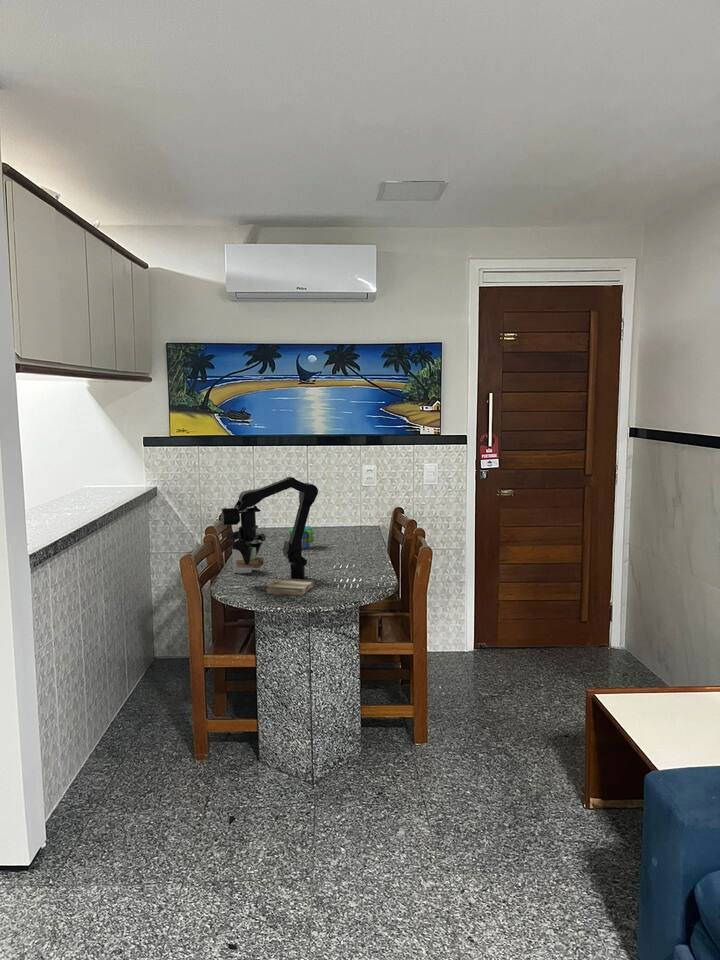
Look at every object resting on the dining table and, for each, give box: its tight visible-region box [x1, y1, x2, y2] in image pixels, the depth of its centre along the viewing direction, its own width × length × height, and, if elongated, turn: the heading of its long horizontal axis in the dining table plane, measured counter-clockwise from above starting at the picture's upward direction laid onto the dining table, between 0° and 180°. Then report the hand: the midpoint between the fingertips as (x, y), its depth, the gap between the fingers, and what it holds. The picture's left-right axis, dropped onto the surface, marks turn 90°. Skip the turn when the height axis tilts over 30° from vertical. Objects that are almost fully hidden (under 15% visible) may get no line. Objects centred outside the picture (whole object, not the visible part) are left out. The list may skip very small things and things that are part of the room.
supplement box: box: [231, 540, 253, 574], centre depth 303 cm, size 7×7×13 cm
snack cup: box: [288, 525, 315, 550], centre depth 348 cm, size 16×10×10 cm
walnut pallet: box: [236, 556, 265, 569], centre depth 280 cm, size 6×9×3 cm, turn 74°
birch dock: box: [266, 578, 315, 596], centre depth 273 cm, size 14×14×2 cm
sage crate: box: [243, 547, 257, 560], centre depth 280 cm, size 4×4×4 cm
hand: (250, 562), depth 280 cm, fingers closed on walnut pallet, 6 cm apart
